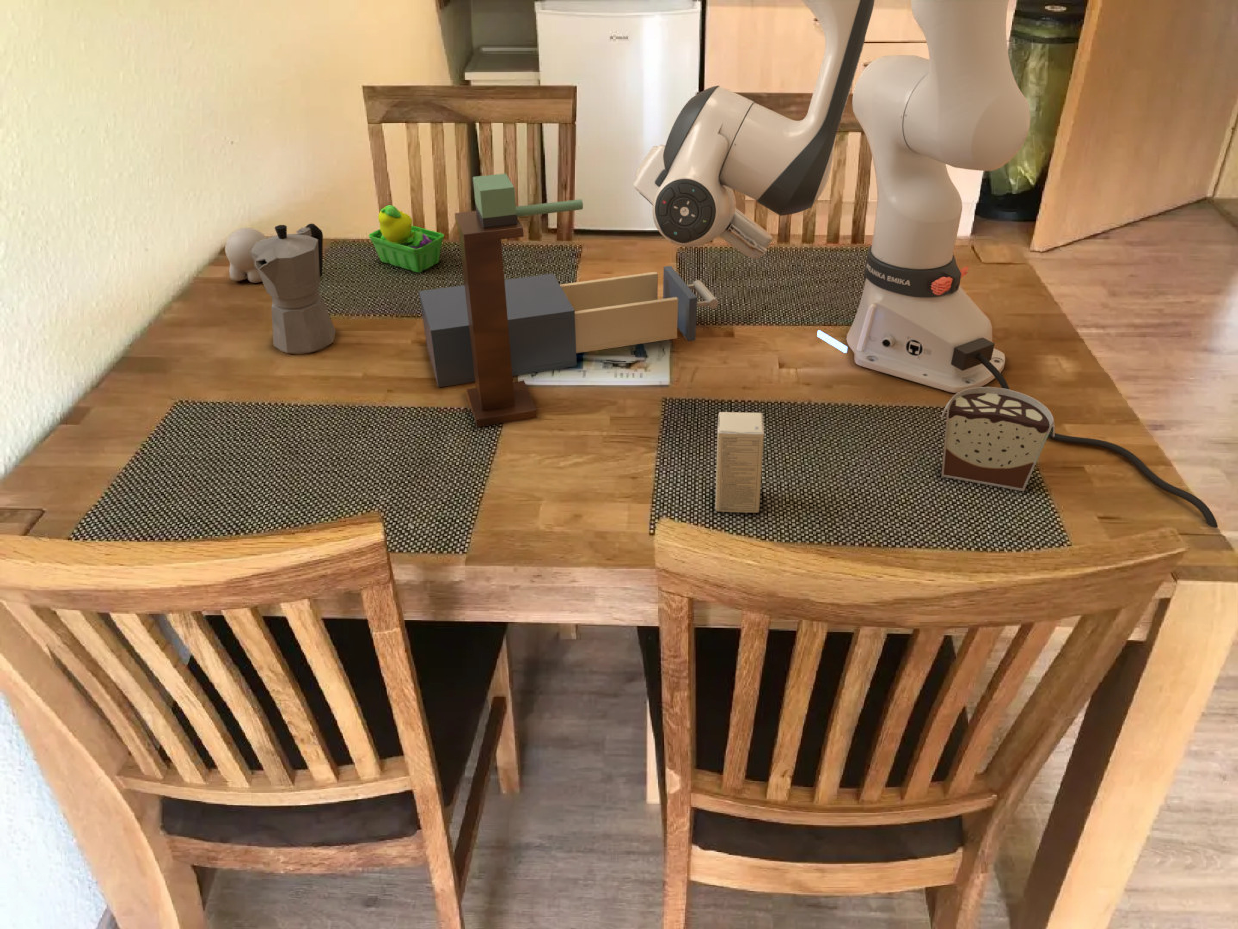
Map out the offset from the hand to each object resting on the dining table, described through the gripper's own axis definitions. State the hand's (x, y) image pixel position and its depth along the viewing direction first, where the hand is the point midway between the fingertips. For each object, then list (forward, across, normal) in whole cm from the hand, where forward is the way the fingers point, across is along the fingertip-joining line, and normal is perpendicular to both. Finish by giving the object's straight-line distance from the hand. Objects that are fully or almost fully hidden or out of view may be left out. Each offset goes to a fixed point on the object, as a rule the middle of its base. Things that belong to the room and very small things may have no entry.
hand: (710, 201), depth 137 cm
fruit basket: (+21, +38, +41) cm, 59 cm away
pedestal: (-19, +5, +36) cm, 41 cm away
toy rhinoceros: (+12, +54, +55) cm, 78 cm away
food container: (-22, -47, +4) cm, 52 cm away
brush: (-25, +15, +12) cm, 31 cm away
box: (-34, -25, +22) cm, 47 cm away
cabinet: (-6, +12, +35) cm, 37 cm away
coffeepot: (-6, +37, +51) cm, 63 cm away
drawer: (+3, -2, +21) cm, 22 cm away
